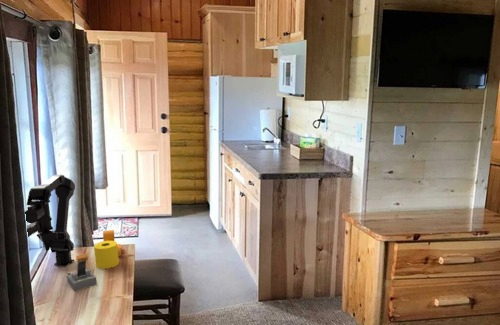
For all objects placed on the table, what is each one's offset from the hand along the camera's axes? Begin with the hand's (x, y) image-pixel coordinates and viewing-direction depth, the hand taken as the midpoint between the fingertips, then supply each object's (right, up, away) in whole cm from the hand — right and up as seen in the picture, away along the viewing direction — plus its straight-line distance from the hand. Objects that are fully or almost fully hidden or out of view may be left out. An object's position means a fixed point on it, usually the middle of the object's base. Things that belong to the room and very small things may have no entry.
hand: (47, 250), depth 194 cm
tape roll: (+22, -9, +14) cm, 27 cm away
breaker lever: (+17, -8, -6) cm, 20 cm away
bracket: (+21, -7, +26) cm, 34 cm away
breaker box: (+17, -13, -6) cm, 22 cm away
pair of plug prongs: (+12, -12, +1) cm, 17 cm away
